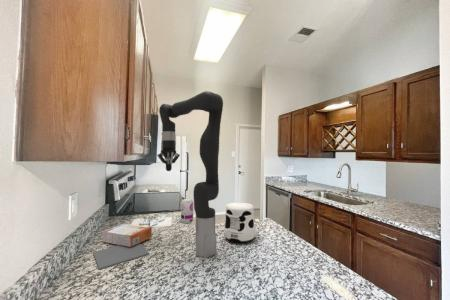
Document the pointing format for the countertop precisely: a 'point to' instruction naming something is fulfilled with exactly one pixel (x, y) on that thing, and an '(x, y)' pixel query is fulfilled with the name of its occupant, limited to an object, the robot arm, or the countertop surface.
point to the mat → (118, 255)
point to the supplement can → (187, 211)
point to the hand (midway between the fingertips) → (168, 170)
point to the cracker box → (127, 235)
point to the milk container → (239, 222)
